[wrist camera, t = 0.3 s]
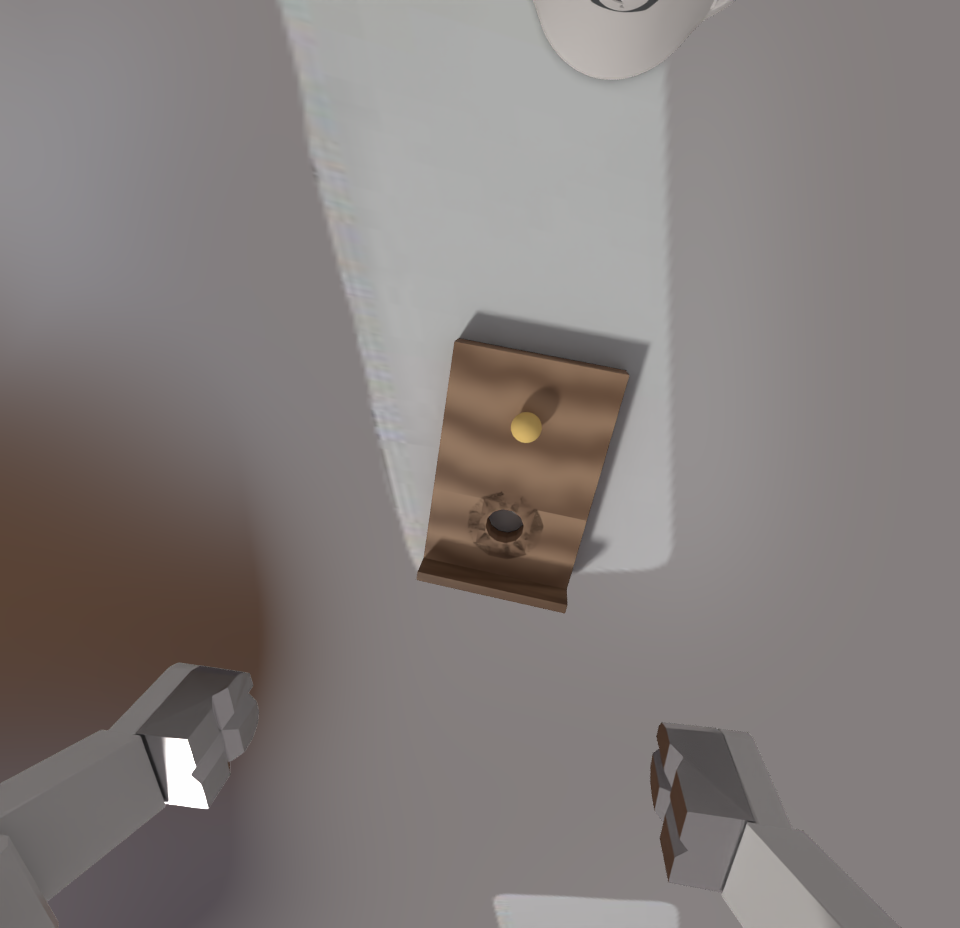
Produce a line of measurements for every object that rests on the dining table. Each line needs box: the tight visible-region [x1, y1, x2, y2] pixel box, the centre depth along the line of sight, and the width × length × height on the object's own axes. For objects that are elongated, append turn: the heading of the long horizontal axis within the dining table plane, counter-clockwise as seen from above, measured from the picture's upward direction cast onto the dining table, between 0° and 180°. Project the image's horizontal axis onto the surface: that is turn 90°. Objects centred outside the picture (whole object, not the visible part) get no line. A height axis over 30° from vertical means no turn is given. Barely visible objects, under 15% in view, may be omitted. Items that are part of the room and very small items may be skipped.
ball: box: [511, 412, 542, 443], centre depth 50 cm, size 3×3×3 cm
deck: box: [417, 338, 629, 613], centre depth 54 cm, size 28×18×6 cm, turn 171°
